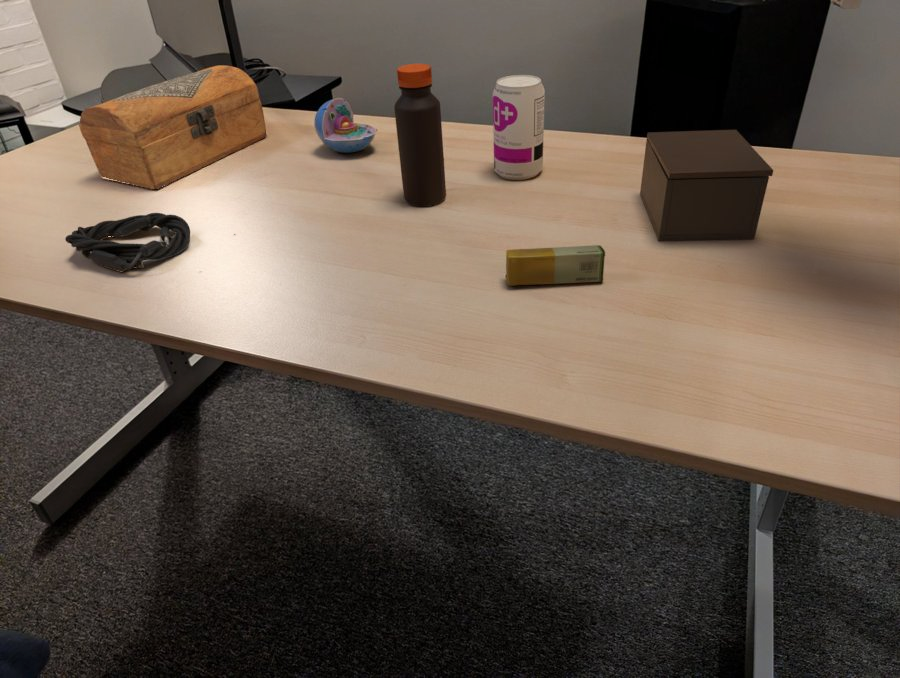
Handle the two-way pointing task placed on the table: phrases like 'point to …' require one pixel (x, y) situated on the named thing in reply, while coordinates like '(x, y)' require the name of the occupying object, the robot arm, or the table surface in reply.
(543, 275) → the medication box
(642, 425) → the table surface
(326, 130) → the cell model
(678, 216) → the open topped square crate
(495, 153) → the supplement can
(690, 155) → the dark brown box lid
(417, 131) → the bottle
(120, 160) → the wooden box
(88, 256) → the cable
